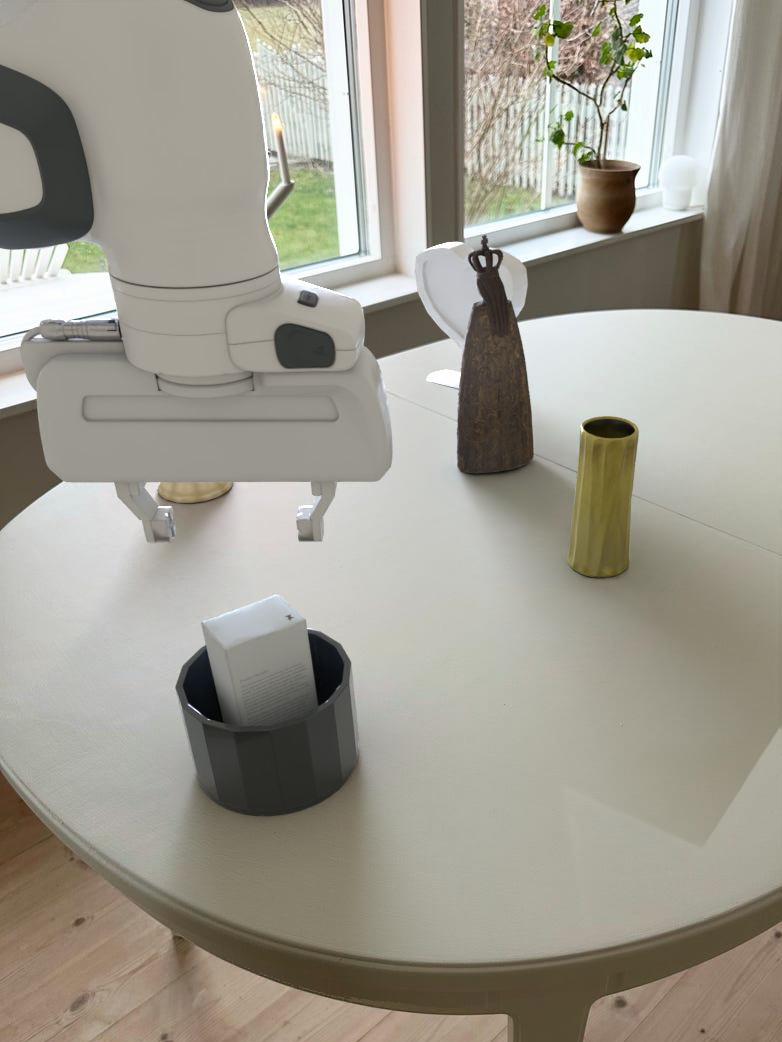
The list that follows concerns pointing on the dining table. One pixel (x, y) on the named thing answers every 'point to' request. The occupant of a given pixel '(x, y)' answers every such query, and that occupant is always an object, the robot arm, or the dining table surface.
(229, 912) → the dining table surface
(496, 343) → the statue
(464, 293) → the heart sculpture
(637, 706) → the dining table surface
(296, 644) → the cosmetic box
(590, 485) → the vase
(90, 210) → the robot arm
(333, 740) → the holder pot
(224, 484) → the hand bell
